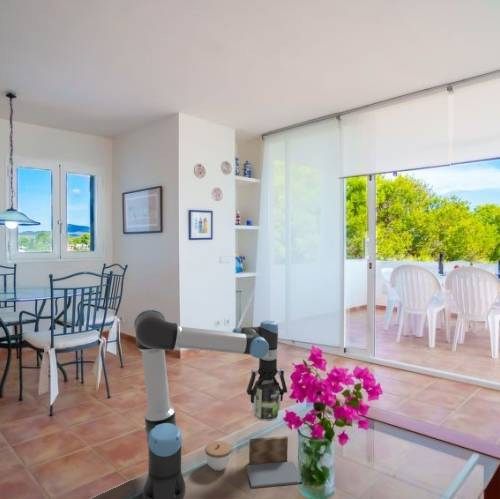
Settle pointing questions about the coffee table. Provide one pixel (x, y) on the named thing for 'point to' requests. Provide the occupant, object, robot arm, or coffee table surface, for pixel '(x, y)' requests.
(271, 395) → the coffee can
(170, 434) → the robot arm
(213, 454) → the lidded jar
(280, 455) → the walnut screen
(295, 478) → the slate mat
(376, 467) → the coffee table surface
